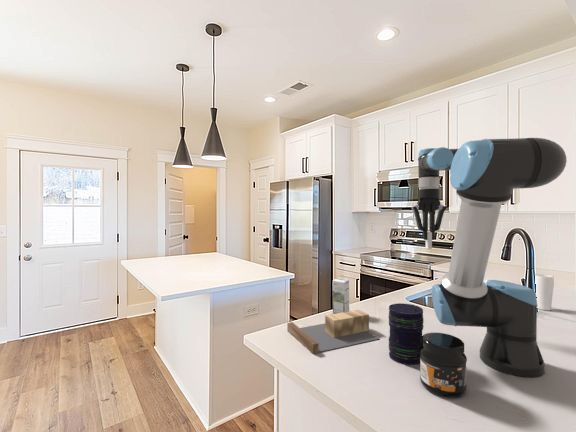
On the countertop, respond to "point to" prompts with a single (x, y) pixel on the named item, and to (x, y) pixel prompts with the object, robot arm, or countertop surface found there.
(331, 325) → the oak block
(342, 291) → the syrup box
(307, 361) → the countertop surface
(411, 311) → the storage jar
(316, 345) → the backstop strip
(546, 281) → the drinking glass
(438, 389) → the supplement container
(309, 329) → the mat
